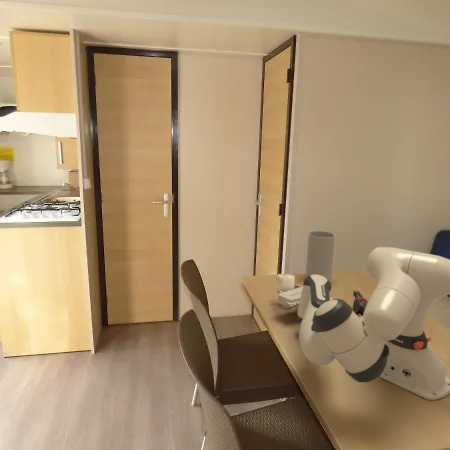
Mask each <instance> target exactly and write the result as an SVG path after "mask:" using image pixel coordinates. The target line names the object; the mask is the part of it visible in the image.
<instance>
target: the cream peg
mask: <svg viewBox="0 0 450 450" xmlns="http://www.w3.org/2000/svg"><path fill="white" fill-rule="evenodd" d="M295 277H296V276H295V275H294V274H290V273H285V274H281V273H278V274H277V275H276V277H275V278H276V281H277V282H280V283H281V285H282V286H281V287H282V288H281V290H283V292H286V291H290V290H293V289H294V285H295V282H296V281H295V280H296V278H295ZM280 307H281V308H282V309H284V310H291V309H293V308H294V307H287V306H285V305H282V304H280Z"/></svg>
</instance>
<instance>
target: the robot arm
mask: <svg viewBox="0 0 450 450" xmlns="http://www.w3.org/2000/svg"><path fill="white" fill-rule="evenodd" d="M366 267H367V270H368V272H369V274H370V276H372V277H373V278H374V279H375V280H376V281H377V285H376V287H375V289H374V291H373V292H372V293H371V296H370V297H369V299H368V300H367V301H368V302H367V305H366V308H365V311H364V313H363V315H362V316H361V317H359V316H358V315H357V313H354V311H353V306H351V305H350V304H349V303H348V302H347V301H345V300H344V299H341V298H333V297H331V296H330V293H331V289H332V283H331V282H329V280H328V279H327V278H326V277H324V276H321V275H317V274H311V275H309V276H307V277H306V276H305V278H304V279H303V283H302V285H299V284H294V289H293V290H290V291H286V292H283V290H282V288H281V289H280V288H278V289H277V290H276V292H277V293H276V294H277V302H278V304H280V305H281V304H282V305H285V306H287V307H293V308H295V307H297V311H296V313H297V318H298V320H300V321H301V322H300V326H299V330H298V340H299V341H298V342H299V346H300V348H301V350H302V353H303V354H304V356H305V357H306V359H307V360H308V361H309V362H310V363H312V364H314V365H317V366H326V365H329V364H331V363H332V362H334V361H335V360H337V362H338V363H339V364H340V365H341V366H342V368H343V369H344V370H345V373H346V374H347V375H349V377H351V379H353V380H354V381H356V382H357V383H369V382H373V381H375V380H377V379H378V378H382V379H384V380H386V381H388V382H390V383H391V384H394V385H396V386H398V387H400V388H402V389H405V390H406V391H408V392H410V393H413V394H415V395H417V396H419V397H421V398H424V399H426V400H430V401H431V400H432V401H434V400H440V399H443V398H444V397H446V396H448V395H449V394H450V378H449V377H448V376H447V374H446V365H445V363H444V361H442V360H441V359H440V358H439V356H438V355H436V353H435V352H434V351H433V349H432V348H431V347H430V346H429V344H428V342H431V340H432V336H429V337H426V332H425V329H424V328H425V323H426V319H427V315H428V313H429V310H430V308H432V306H433V304H434V303H435V302H437V301H438V300H440V299H441V298H444V297H446V296H449V295H450V259H449V258H446V257H443V256H441V255H435V254H431V253H425V252H420V251H415V250H408V249H402V248H399V247H393V246H391V247H389V246H378V247H376V248H374V249H372V251H371V252H370V253H369V255H368V257H367V260H366ZM298 305H299V306H298Z"/></svg>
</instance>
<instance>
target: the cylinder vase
mask: <svg viewBox="0 0 450 450" xmlns="http://www.w3.org/2000/svg"><path fill="white" fill-rule="evenodd" d="M335 237H336V234H335V233H333V232H330V231H325V230H311V231H309V232H308V240H307V252H306V253H307V255H306V267H305V278H306V277H307V276H309V275H311V274H317V275H321V276H324V277H326V278H327V279H328V280H329V282H330V283H331V282H332V271H333V260H334V248H335V239H336V238H335Z"/></svg>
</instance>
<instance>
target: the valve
mask: <svg viewBox="0 0 450 450" xmlns="http://www.w3.org/2000/svg"><path fill="white" fill-rule="evenodd" d="M352 292H353V293H354V295H355V297H356V298H355V299H354V300H353V303H352V311H353V312H354V313H355V314H358V312H362V313H363V314H364V311H365V308H366V305H367V302H368V300H367V299H366V298H365V297H364V296H363V295H362V293H361V292H360V291H359V290H356V289H354V290H353V291H352Z"/></svg>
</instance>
